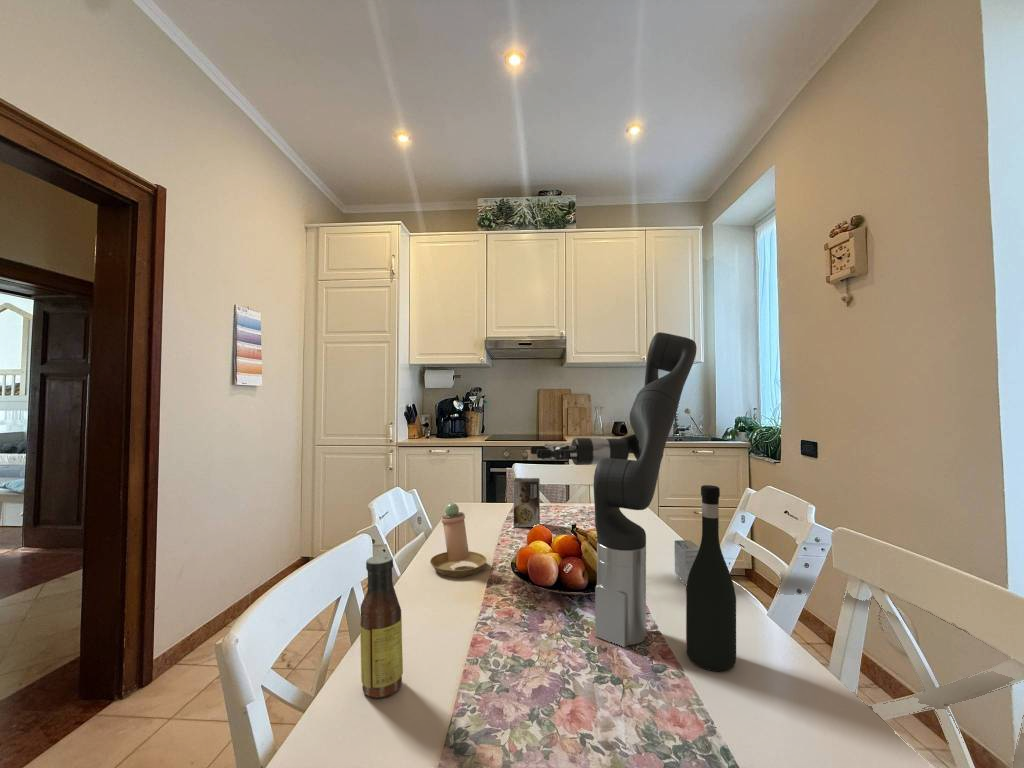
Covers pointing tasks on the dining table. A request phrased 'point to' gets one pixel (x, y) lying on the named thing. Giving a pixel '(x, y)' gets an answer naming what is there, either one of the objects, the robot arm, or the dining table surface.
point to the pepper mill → (455, 533)
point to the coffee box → (526, 502)
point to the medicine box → (684, 558)
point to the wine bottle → (710, 596)
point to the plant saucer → (444, 565)
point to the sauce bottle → (381, 631)
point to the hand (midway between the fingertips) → (533, 451)
